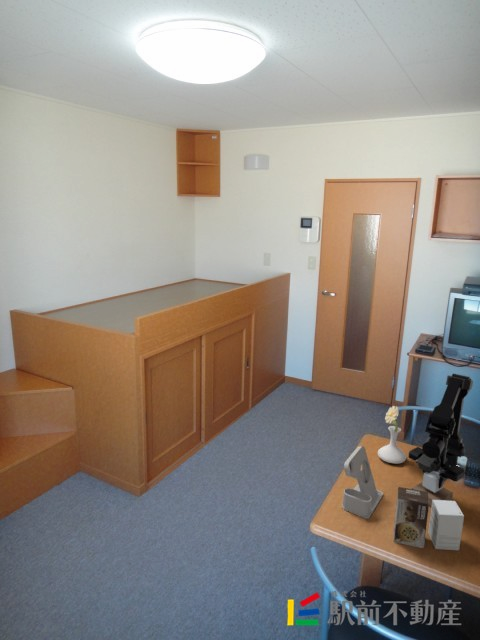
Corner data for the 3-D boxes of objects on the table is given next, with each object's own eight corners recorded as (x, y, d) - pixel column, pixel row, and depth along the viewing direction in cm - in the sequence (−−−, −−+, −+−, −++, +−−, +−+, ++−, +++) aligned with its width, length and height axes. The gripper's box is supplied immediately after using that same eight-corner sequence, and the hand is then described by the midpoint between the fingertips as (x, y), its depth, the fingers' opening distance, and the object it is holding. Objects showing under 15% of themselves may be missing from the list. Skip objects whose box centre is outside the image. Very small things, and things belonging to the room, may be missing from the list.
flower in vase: (378, 449, 195) (383, 396, 189) (406, 454, 191) (412, 400, 185) (375, 464, 183) (380, 408, 177) (405, 471, 179) (411, 413, 173)
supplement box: (450, 534, 145) (456, 500, 142) (459, 551, 138) (465, 516, 135) (427, 532, 146) (431, 498, 143) (434, 549, 139) (439, 514, 136)
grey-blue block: (430, 481, 166) (431, 469, 164) (442, 487, 162) (444, 475, 160) (422, 485, 163) (423, 473, 161) (434, 492, 159) (436, 480, 158)
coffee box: (423, 535, 145) (428, 491, 140) (424, 549, 139) (430, 504, 135) (393, 528, 147) (398, 485, 143) (392, 542, 141) (398, 497, 137)
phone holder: (367, 520, 151) (372, 473, 147) (339, 508, 157) (342, 463, 152) (383, 494, 165) (388, 450, 161) (357, 484, 171) (361, 441, 166)
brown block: (426, 485, 170) (427, 478, 169) (451, 499, 162) (452, 492, 161) (410, 495, 164) (411, 488, 164) (435, 510, 156) (436, 502, 156)
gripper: (401, 440, 161) (396, 478, 165) (450, 465, 146) (444, 506, 150) (419, 432, 167) (415, 469, 171) (468, 454, 152) (462, 494, 156)
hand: (432, 484), depth 162 cm, fingers closed on grey-blue block, 5 cm apart
